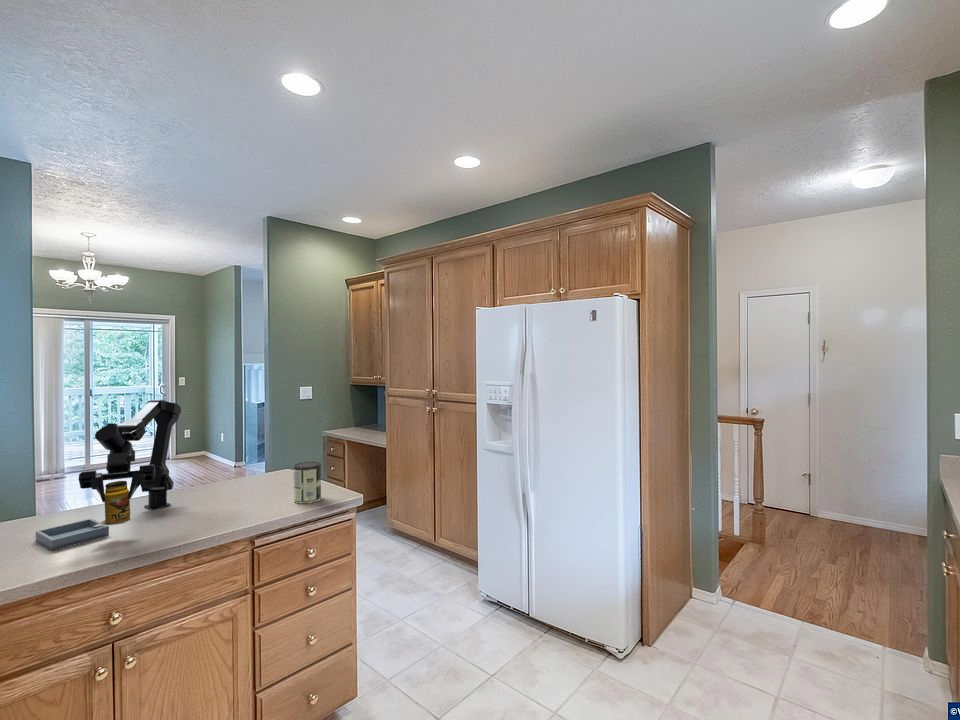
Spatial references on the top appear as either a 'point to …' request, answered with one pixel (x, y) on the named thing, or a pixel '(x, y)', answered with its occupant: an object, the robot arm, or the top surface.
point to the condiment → (116, 504)
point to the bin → (71, 534)
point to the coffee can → (307, 482)
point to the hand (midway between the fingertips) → (116, 499)
